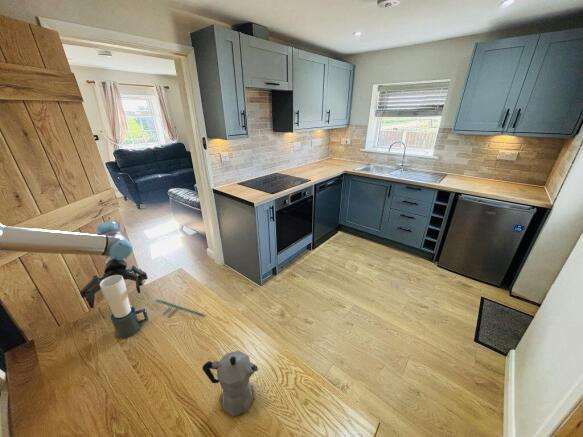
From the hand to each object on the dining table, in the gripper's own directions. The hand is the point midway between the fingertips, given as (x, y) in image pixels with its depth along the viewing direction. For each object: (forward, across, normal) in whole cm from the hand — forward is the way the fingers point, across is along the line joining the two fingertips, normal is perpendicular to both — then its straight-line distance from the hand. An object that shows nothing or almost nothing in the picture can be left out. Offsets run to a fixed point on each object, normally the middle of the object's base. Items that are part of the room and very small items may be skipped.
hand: (115, 297), depth 82 cm
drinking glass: (-2, 0, -10) cm, 10 cm away
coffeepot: (+42, -25, -19) cm, 53 cm away
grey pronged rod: (+10, +2, -17) cm, 20 cm away
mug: (-3, -2, -19) cm, 19 cm away
